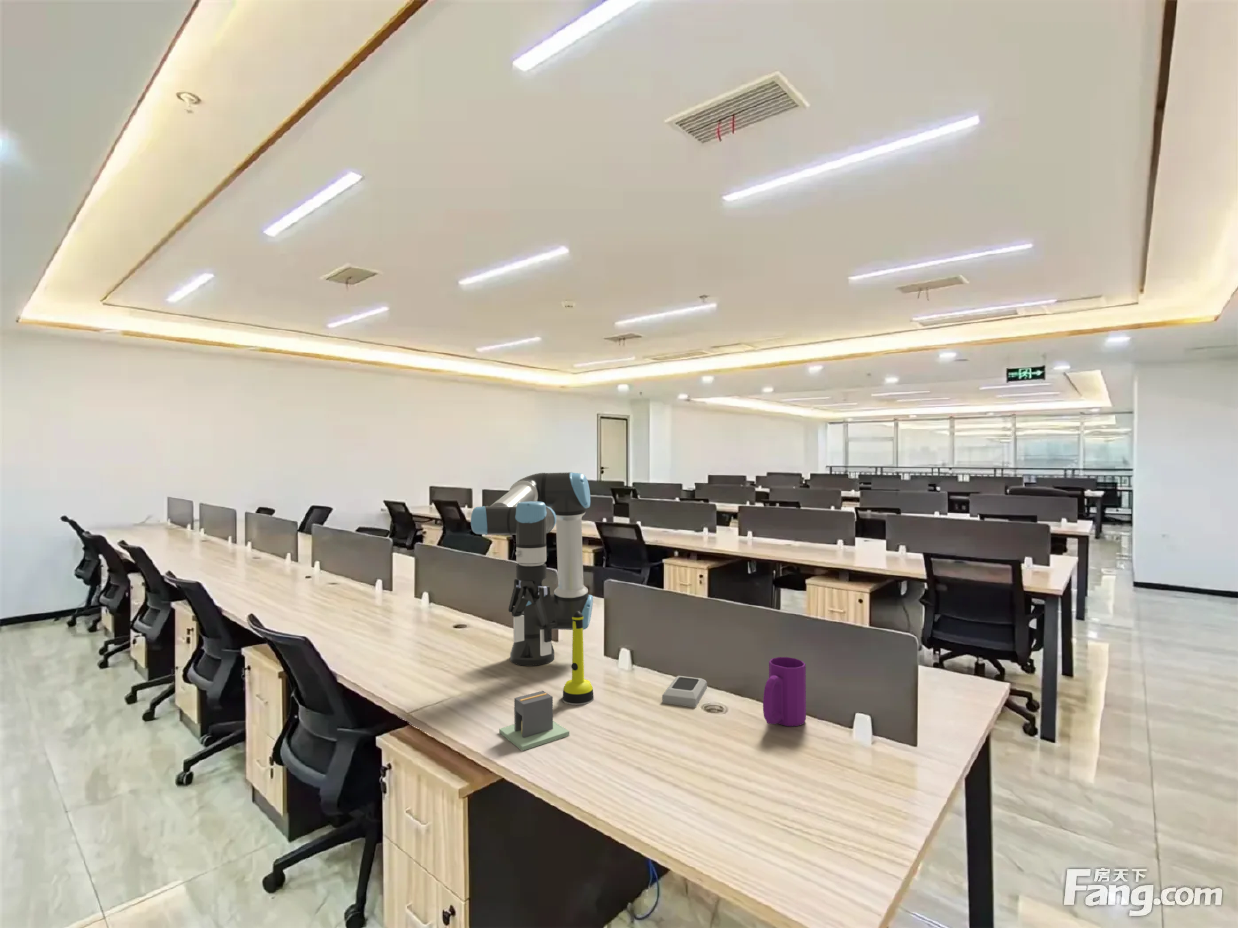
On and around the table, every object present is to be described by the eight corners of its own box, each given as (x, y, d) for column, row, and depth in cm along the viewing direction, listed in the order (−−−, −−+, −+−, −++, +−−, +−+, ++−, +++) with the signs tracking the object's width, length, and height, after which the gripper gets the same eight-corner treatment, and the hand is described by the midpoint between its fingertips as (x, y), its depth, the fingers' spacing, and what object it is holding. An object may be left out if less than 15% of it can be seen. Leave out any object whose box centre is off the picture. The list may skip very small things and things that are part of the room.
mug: (812, 719, 154) (811, 662, 155) (782, 739, 143) (782, 677, 143) (780, 709, 161) (779, 654, 161) (749, 728, 150) (749, 668, 150)
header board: (544, 719, 156) (544, 703, 156) (569, 735, 146) (569, 719, 146) (499, 732, 148) (499, 716, 148) (522, 751, 138) (522, 733, 138)
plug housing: (543, 722, 151) (542, 690, 151) (552, 729, 147) (552, 696, 147) (514, 730, 146) (514, 697, 146) (523, 737, 142) (523, 703, 142)
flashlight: (575, 606, 175) (555, 612, 168) (599, 610, 170) (580, 616, 163) (576, 690, 175) (555, 700, 168) (600, 697, 170) (580, 707, 163)
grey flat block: (662, 691, 166) (675, 673, 180) (662, 704, 166) (675, 685, 180) (695, 695, 163) (706, 677, 177) (695, 708, 163) (706, 689, 177)
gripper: (495, 558, 156) (495, 638, 156) (544, 572, 137) (544, 664, 137) (520, 555, 161) (521, 633, 161) (571, 568, 141) (571, 657, 141)
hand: (531, 647), depth 149 cm, fingers open, 13 cm apart
